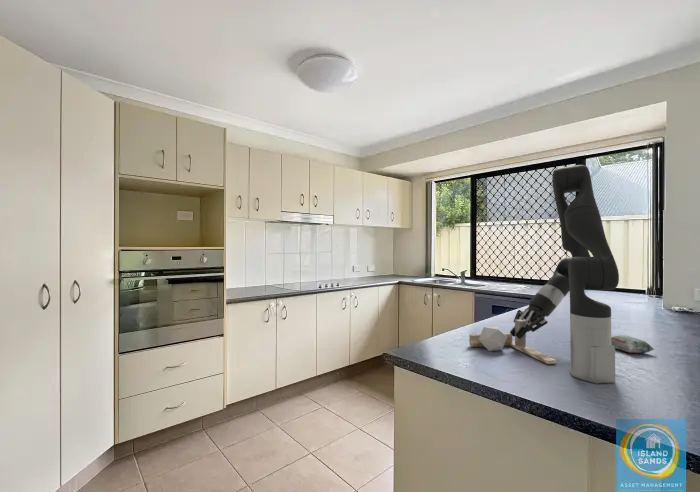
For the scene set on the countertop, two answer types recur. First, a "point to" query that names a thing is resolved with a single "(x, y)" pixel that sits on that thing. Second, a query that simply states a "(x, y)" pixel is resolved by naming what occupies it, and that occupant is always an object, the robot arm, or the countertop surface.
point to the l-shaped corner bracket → (516, 344)
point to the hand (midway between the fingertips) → (514, 335)
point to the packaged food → (630, 344)
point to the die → (493, 338)
